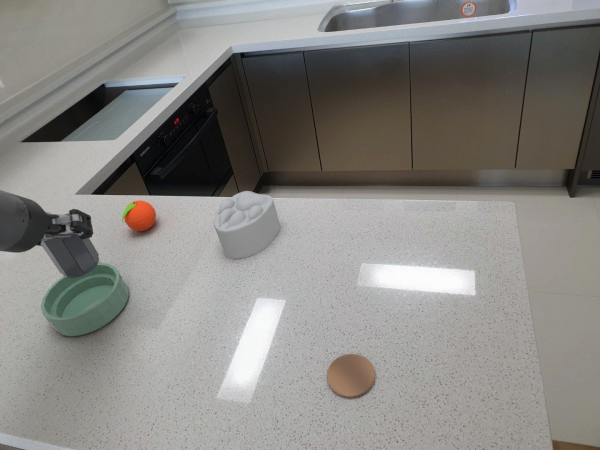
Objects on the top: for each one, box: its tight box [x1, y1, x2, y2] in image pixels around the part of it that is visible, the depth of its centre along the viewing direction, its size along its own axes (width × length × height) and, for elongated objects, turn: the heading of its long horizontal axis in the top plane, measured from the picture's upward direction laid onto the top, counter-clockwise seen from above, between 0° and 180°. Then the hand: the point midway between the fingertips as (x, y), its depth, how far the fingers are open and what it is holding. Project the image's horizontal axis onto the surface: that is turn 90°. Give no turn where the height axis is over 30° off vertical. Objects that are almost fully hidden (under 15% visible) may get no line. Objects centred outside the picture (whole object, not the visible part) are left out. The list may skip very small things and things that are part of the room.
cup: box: [39, 212, 100, 279], centre depth 74 cm, size 6×6×8 cm
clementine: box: [121, 200, 157, 232], centre depth 103 cm, size 8×7×7 cm
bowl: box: [40, 262, 129, 337], centre depth 86 cm, size 14×14×5 cm
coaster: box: [326, 353, 376, 399], centre depth 65 cm, size 7×7×1 cm
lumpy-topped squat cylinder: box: [213, 190, 281, 260], centre depth 93 cm, size 10×13×9 cm
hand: (69, 235), depth 75 cm, fingers closed on cup, 6 cm apart
